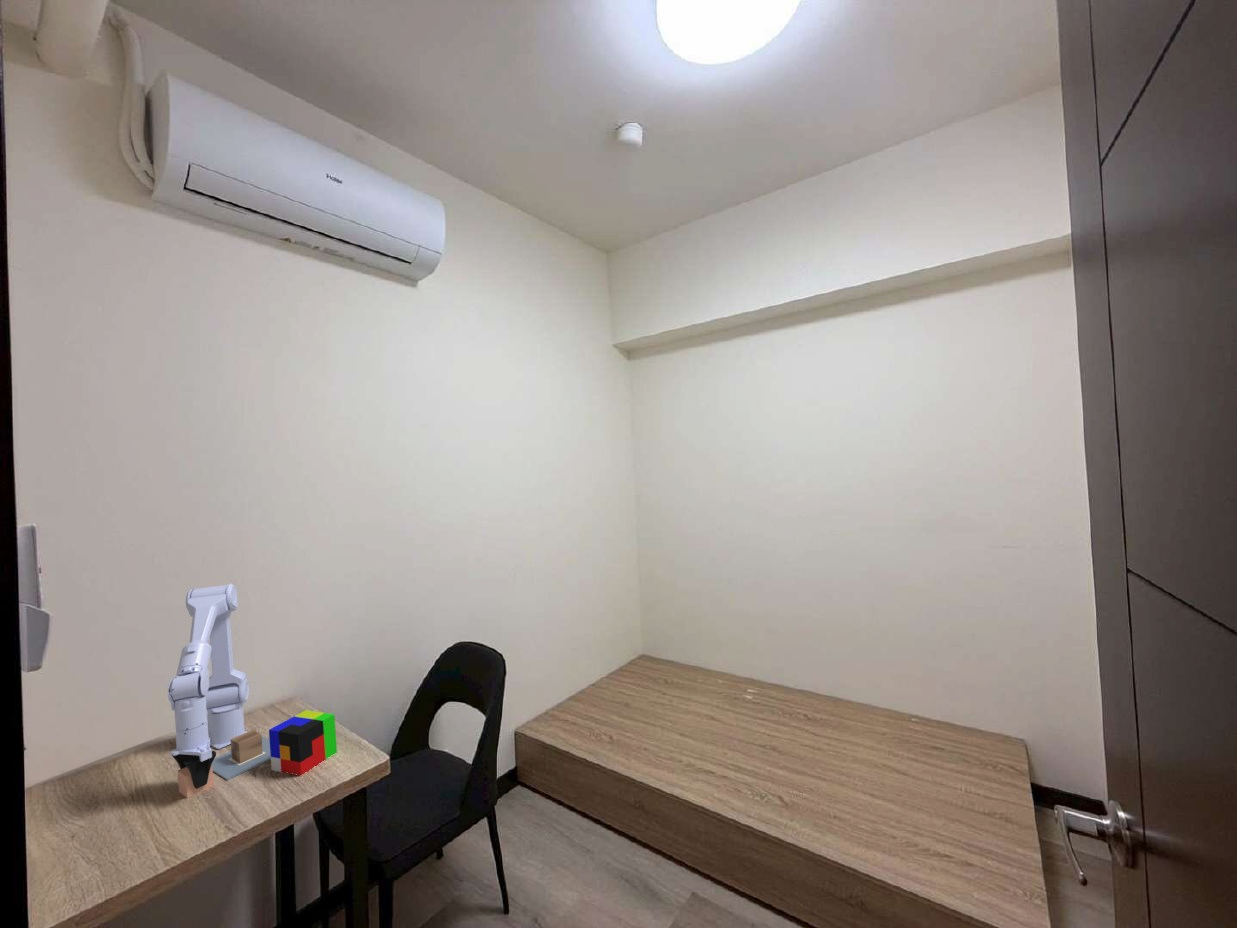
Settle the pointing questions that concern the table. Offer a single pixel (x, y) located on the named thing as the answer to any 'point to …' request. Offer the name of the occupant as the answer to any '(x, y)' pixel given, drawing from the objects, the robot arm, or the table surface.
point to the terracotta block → (187, 783)
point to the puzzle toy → (302, 742)
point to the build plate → (232, 768)
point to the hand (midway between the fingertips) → (196, 782)
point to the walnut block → (246, 746)
